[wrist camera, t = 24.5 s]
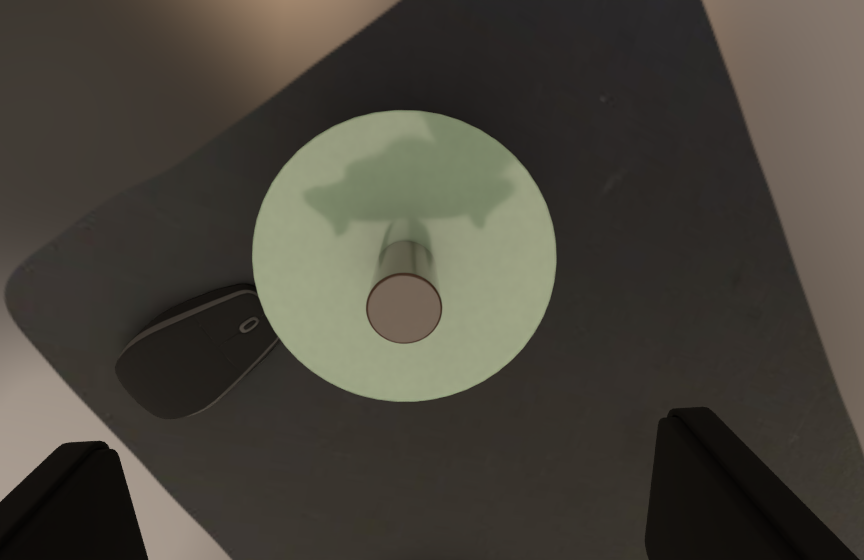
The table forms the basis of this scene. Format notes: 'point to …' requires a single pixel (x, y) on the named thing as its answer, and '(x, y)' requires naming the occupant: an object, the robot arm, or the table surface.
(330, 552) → the table surface
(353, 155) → the lid
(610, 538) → the table surface
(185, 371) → the computer mouse
